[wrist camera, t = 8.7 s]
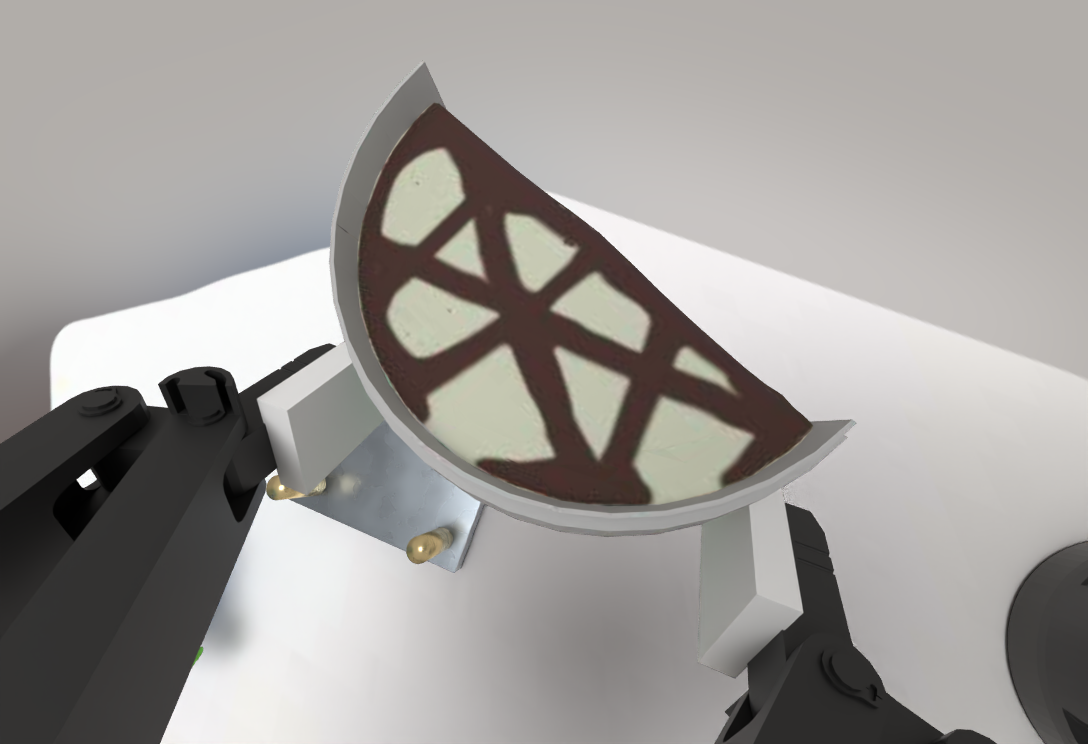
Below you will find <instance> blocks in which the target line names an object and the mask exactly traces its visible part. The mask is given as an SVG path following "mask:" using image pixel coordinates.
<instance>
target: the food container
mask: <svg viewBox="0 0 1088 744" xmlns="http://www.w3.org/2000/svg"><path fill="white" fill-rule="evenodd" d="M330 243H331V244H330V258H329V264H330V273H331V283H332V292H333V302H334V305H335V309H336V312H337V316H338V319H339V323H340V326H341V330H342V334H343V337H344V341H345V343H346V346H347V350H348V353H349V357H350V359H351V361H352V363H353V365H354V367H355V369H356V371H357V374H358V376H359V378H360V380H361V382H362V384H363V386H364V388H365V391H366V393H367V395H368V396H369V397H370V399H371V400H372V402H373V403H374V405H375V406H376V407H377V409H378V410H379V412H380V413H381V414H382V416H383V417H384V419H385V420H386V422H387V423H388V424H389V426H390V427H391V429H392V430H393V431H394V432H395V433H396V434H397V435H398V436H399V437H400V438H401V439H402V440H403V441H404V442H405V443H406V444H407V445H408V446H409V447H410V448H411V449H412V450H413V451H414V452H415V453H416V454H417V455H418V456H419V457H420V458H421V459H422V460H423V461H424V462H425V463H426V464H427V465H429V466H430V467H431V468H432V469H434V470H435V471H436V472H437V473H438V474H440V475H441V476H442V477H444V478H445V479H447V480H448V481H450V482H451V483H452V484H454V485H455V486H457V487H458V488H460V489H461V490H462V491H464V492H465V493H467V494H468V495H470V496H471V497H472V498H474V499H475V500H477V501H479V502H481V503H484V504H486V505H488V506H490V507H492V508H494V509H496V510H498V511H500V512H503V513H505V514H507V515H509V516H511V517H513V518H515V519H518V520H522V521H525V522H529V523H532V524H536V525H539V526H543V527H546V528H550V529H553V530H557V531H560V532H569V533H578V534H587V535H595V536H604V537H614V536H634V535H653V534H659V533H664V532H668V531H673V530H677V529H682V528H686V527H691V526H696V525H700V524H704V523H706V522H709V521H711V520H714V519H716V518H719V517H721V516H724V515H726V514H728V513H731V512H733V511H736V510H738V509H741V508H743V507H746V506H748V505H750V504H753V503H755V502H757V501H759V500H761V499H764V498H766V497H767V496H769V495H771V494H772V493H774V492H775V491H777V490H779V489H780V488H782V487H784V486H785V485H787V484H789V483H790V482H792V481H794V480H795V479H797V478H798V477H800V476H802V475H803V474H805V473H807V472H808V471H810V470H811V469H812V468H813V467H815V466H816V465H817V464H818V463H819V462H820V461H821V460H823V459H824V458H825V457H826V456H827V455H828V454H829V453H831V452H832V451H833V450H834V449H835V448H836V447H838V446H839V445H840V444H841V443H842V442H843V441H844V440H846V439H847V437H846V436H845V435H844V434H845V433H846V432H847V431H848V430H849V429H851V428H852V427H853V426H854V425H855V424H856V422H855V421H853V420H835V421H816V422H809V421H808V420H807V419H806V418H805V417H804V416H803V415H802V414H801V413H800V412H798V411H797V410H796V409H795V408H794V407H793V406H792V405H791V404H790V403H789V402H788V401H787V400H786V399H785V398H784V396H783V395H782V394H780V393H778V392H777V391H775V390H774V389H772V388H771V387H769V386H767V385H766V384H764V383H763V382H762V381H761V380H759V379H758V378H757V377H756V376H754V375H753V374H752V373H751V372H749V371H748V370H747V369H746V368H744V367H743V366H742V365H741V364H740V363H739V362H738V361H736V360H735V359H734V358H733V357H732V356H731V355H730V354H728V353H727V352H726V351H725V350H724V349H723V348H722V347H721V346H719V345H718V344H717V343H716V342H715V341H714V340H713V339H711V338H710V337H709V336H708V335H707V334H706V333H705V332H704V331H702V330H701V329H700V328H699V327H698V326H697V325H696V324H695V323H694V322H693V321H691V320H690V319H689V318H688V317H687V316H686V315H685V314H684V313H683V312H682V311H681V310H680V309H678V308H677V307H676V306H675V305H674V304H673V303H672V302H671V301H670V300H669V299H668V298H667V297H665V296H664V295H663V294H662V293H661V292H660V291H659V290H658V289H657V288H656V287H655V286H654V285H653V284H652V283H651V282H650V281H649V280H648V279H647V278H646V277H645V276H644V275H643V274H642V273H641V272H640V271H639V270H638V269H637V268H636V267H635V266H634V265H633V264H632V263H631V262H630V261H628V260H627V259H626V258H625V257H624V256H623V255H622V254H621V253H620V252H619V251H618V250H617V249H616V248H615V247H614V246H613V245H612V244H610V243H609V242H608V241H607V240H606V239H605V238H604V237H603V236H602V235H601V234H600V233H599V232H598V231H596V230H595V229H594V228H592V227H591V226H590V225H588V224H587V223H586V222H584V221H583V220H582V219H581V218H579V217H578V216H577V215H575V214H574V213H573V212H571V211H570V210H569V209H567V208H566V207H565V206H563V205H562V204H560V203H559V202H558V201H556V200H555V199H553V198H552V197H551V196H549V195H548V194H547V193H545V192H544V191H543V190H542V189H540V188H539V187H538V186H536V185H535V184H534V183H533V182H531V181H530V180H529V179H528V178H526V177H525V176H524V175H522V174H521V173H520V172H519V171H517V170H516V169H515V168H514V167H513V166H511V165H510V164H509V163H508V162H507V161H505V160H504V159H503V158H502V157H501V156H500V155H498V154H497V153H496V152H495V151H494V150H493V149H492V148H490V147H489V146H488V145H487V144H486V143H485V142H483V141H482V140H481V139H480V138H479V137H477V136H476V135H475V134H474V133H473V132H472V131H470V130H469V129H468V128H467V127H466V126H465V125H464V124H462V123H461V122H460V121H459V120H458V119H456V118H455V117H454V116H453V115H452V114H451V113H450V112H448V111H447V110H446V107H445V105H444V103H443V101H442V99H441V97H440V94H439V92H438V90H437V88H436V86H435V83H434V81H433V79H432V77H431V75H430V72H429V70H428V68H427V66H426V64H425V62H424V61H421V62H420V63H419V64H418V65H417V66H416V67H415V68H414V69H413V70H412V71H411V72H410V73H409V74H408V75H407V76H406V77H405V78H404V79H403V80H402V81H401V82H400V83H399V84H398V85H397V86H396V87H395V88H394V90H393V91H392V92H391V94H390V95H389V96H388V97H387V99H386V100H385V101H384V103H383V104H382V105H381V106H380V108H379V109H378V110H377V111H376V113H375V114H374V116H373V117H372V119H371V121H370V122H369V124H368V126H367V128H366V129H365V131H364V133H363V135H362V136H361V138H360V140H359V141H358V143H357V145H356V147H355V149H354V151H353V153H352V156H351V158H350V161H349V164H348V166H347V169H346V171H345V174H344V176H343V179H342V182H341V184H340V188H339V192H338V197H337V201H336V205H335V210H334V215H333V219H332V225H331V242H330Z"/></svg>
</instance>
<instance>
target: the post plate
mask: <svg viewBox="0 0 1088 744" xmlns="http://www.w3.org/2000/svg"><path fill="white" fill-rule="evenodd" d="M266 492H267V495H268V496H269V498H271V499H273V500H282V499H289V500H291V501H294V502H296V503H298V504H300V505H303V506H305V507H307V508H309V509H312V510H314V511H316V512H318V513H321V514H323V515H325V516H327V517H330V518H332V519H334V520H336V521H339V522H341V523H343V524H345V525H348V526H350V527H352V528H354V529H357V530H359V531H361V532H363V533H366V534H368V535H370V536H372V537H375V538H377V539H379V540H381V541H384V542H386V543H388V544H390V545H393V546H395V547H397V548H399V549H402V550H404V551H406V553H407V556H408V558H409V560H410V561H411V562H413V563H416V564H421V563H424V562H425V561H429V562H431V563H433V564H435V565H438V566H440V567H442V568H444V569H447V570H449V571H451V572H453V573H455V572H456V571H457V570H459V569H460V568H461V566H462V564H463V561H464V558H465V555H466V553H467V550H468V547H469V545H470V542H471V539H472V537H473V534H474V531H475V529H476V526H477V523H478V521H479V518H480V515H481V512H482V510H483V507H484V503H481V502H479V501H477V500H475V499H474V498H472V497H471V496H470V495H468V494H467V493H465V492H464V491H462V490H461V489H460V488H458V487H457V486H455V485H454V484H452V483H451V482H450V481H448V480H447V479H445V478H444V477H442V476H441V475H440V474H438V473H437V472H436V471H435V470H434V469H432V468H431V467H430V466H429V465H427V464H426V463H425V462H424V461H423V460H422V459H421V458H420V457H419V456H418V455H417V454H416V453H415V452H414V451H413V450H412V449H411V448H410V447H409V446H408V445H407V444H406V443H405V442H404V441H403V440H402V439H401V438H400V437H399V436H398V435H397V434H396V433H395V432H394V431H393V430H392V429H391V427H390V426H389V424H388V423H387V422H386V420H384V421H383V422H382V423H381V424H380V425H379V426H378V427H377V428H375V429H374V430H373V431H372V432H371V433H370V434H369V435H368V436H367V437H366V438H365V439H364V440H363V441H362V442H361V443H360V444H359V445H358V446H357V447H356V448H355V449H354V450H353V451H352V452H351V453H350V454H349V455H348V456H347V457H346V458H345V459H344V460H343V461H342V462H341V463H340V464H339V465H338V466H337V467H336V468H335V469H334V470H333V471H332V472H331V473H329V474H328V475H327V476H326V477H325V478H324V479H323V480H322V481H321V482H320V483H319V484H318V485H317V486H316V487H315V488H314V489H313V490H312V491H311V492H310V493H309V494H308V495H305V494H302V493H300V492H298V491H295V490H293V489H290V488H288V487H286V486H283V485H281V483H280V479H279V476H278V475H276V476H274V477H272V478H271V479H270V480H269V481H268V483H267V487H266Z"/></svg>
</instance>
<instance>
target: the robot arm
mask: <svg viewBox="0 0 1088 744" xmlns="http://www.w3.org/2000/svg"><path fill="white" fill-rule="evenodd" d="M158 386H159V388H160V390H161V392H162V395H163V397H164V399H165V401H166V404H167V406H168V408H164V407H154V406H147V405H146V403H145V401H144V399H143V397H142V395H141V394H140V393H139V391H138V390H137V389H134V388H131V387H128V386H108V387H101V388H96V389H93V390H90V391H87V392H83V393H81V394H79V395H77V396H75V397H73V398H71V399H69V400H68V401H66V402H65V403H63V404H62V405H60V406H58V407H57V408H55V409H54V410H52V411H51V412H49V413H48V414H46V415H44V416H43V417H41V418H40V419H38V420H37V421H35V422H34V423H32V424H30V425H29V426H27V427H26V428H24V429H23V430H21V431H20V432H18V433H17V434H15V435H13V436H12V437H10V438H9V439H7V440H6V441H4V442H2V443H1V444H0V744H160V742H161V740H162V737H163V735H164V732H165V730H166V728H167V725H168V723H169V721H170V718H171V716H172V713H173V711H174V709H175V706H176V704H177V701H178V699H179V697H180V694H181V692H182V690H183V687H184V685H185V682H186V680H187V678H188V675H189V673H190V670H191V668H192V666H193V663H194V661H195V659H196V656H197V654H198V651H199V649H200V647H201V644H202V642H203V639H204V637H205V635H206V632H207V630H208V627H209V625H210V623H211V620H212V618H213V616H214V613H215V611H216V608H217V606H218V604H219V601H220V599H221V596H222V594H223V592H224V589H225V587H226V585H227V582H228V580H229V577H230V575H231V573H232V570H233V568H234V565H235V563H236V561H237V558H238V556H239V554H240V551H241V549H242V546H243V544H244V542H245V539H246V537H247V534H248V532H249V530H250V527H251V525H252V523H253V520H254V518H255V515H256V513H257V511H258V508H259V506H260V503H261V501H262V499H263V496H264V494H265V491H266V481H265V478H266V477H267V476H268V475H269V474H270V473H271V472H273V471H274V470H275V469H277V472H278V476H279V479H280V483H281V485H283V486H286V487H288V488H290V489H293V490H295V491H298V492H300V493H302V494H305V495H308V494H309V493H310V492H311V491H312V490H313V489H314V488H315V487H316V486H317V485H318V484H319V483H320V482H321V481H322V480H323V479H324V478H325V477H326V476H327V475H328V474H329V473H331V472H332V471H333V470H334V469H335V468H336V467H337V466H338V465H339V464H340V463H341V462H342V461H343V460H344V459H345V458H346V457H347V456H348V455H349V454H350V453H351V452H352V451H353V450H354V449H355V448H356V447H357V446H358V445H359V444H360V443H361V442H362V441H363V440H364V439H365V438H366V437H367V436H368V435H369V434H370V433H371V432H372V431H373V430H374V429H375V428H377V427H378V426H379V425H380V424H381V423H382V422H383V421H384V420H385V419H384V417H383V416H382V414H381V413H380V412H379V410H378V409H377V407H376V406H375V405H374V403H373V402H372V400H371V399H370V397H369V396H368V395H367V393H366V391H365V388H364V386H363V384H362V382H361V380H360V378H359V376H358V374H357V371H356V369H355V367H354V365H353V363H352V361H351V359H350V357H349V353H348V350H347V346H346V343H345V341H344V342H342V343H341V344H339V345H338V346H335V345H332V344H325V345H322V346H319V347H316V348H313V349H310V350H308V351H306V352H305V353H303V354H302V355H300V356H298V357H297V358H295V359H294V361H293V362H292V361H290V362H289V363H287V364H286V365H284V366H282V367H281V369H280V370H279V369H278V370H276V371H274V372H273V373H271V374H270V375H268V376H266V377H265V378H263V379H261V380H260V381H258V382H257V383H255V384H253V385H252V386H250V387H249V388H247V389H245V390H244V391H242V392H241V393H239V394H238V391H237V388H236V384H235V381H234V378H233V377H232V375H231V373H230V372H228V371H226V370H224V369H222V368H217V367H210V366H209V367H195V368H190V369H186V370H182V371H179V372H177V373H175V374H172V375H170V376H168V377H166V378H165V379H164V380H163V381H161V382H160V383H159V384H158ZM89 469H91V470H92V472H93V473H94V475H95V477H96V478H97V480H96V481H95V482H93V483H92V484H90V485H88V486H87V487H85V488H82V487H81V486H80V484H79V483H78V481H77V480H76V479H78V478H79V477H80V476H81V475H83V474H84V473H85V472H86V471H88V470H89ZM829 554H830V553H829V549H828V545H827V541H826V537H825V533H824V532H823V530H822V528H821V527H820V525H819V524H818V522H817V521H816V519H815V518H814V516H813V515H812V513H811V512H810V511H807V510H804V509H802V508H799V507H796V506H793V505H790V504H787V503H785V502H784V497H783V491H782V488H780V489H779V490H777V491H775V492H774V493H772V494H771V495H769V496H767V497H766V498H764V499H761V500H759V501H757V502H755V503H753V504H750V505H748V506H746V507H743V508H741V509H738V510H736V511H733V512H731V513H728V514H726V515H724V516H721V517H719V518H716V519H714V520H711V521H709V522H706V523H704V524H702V535H701V568H700V601H699V633H698V663H700V664H703V665H705V666H707V667H710V668H712V669H714V670H717V671H719V672H721V673H724V674H726V675H728V676H731V677H733V678H736V677H737V676H738V675H739V674H740V673H741V672H742V671H743V670H744V669H745V668H746V667H747V666H748V684H749V690H748V691H747V692H746V693H745V694H744V695H743V696H741V697H740V698H739V699H738V700H737V701H736V702H735V703H733V704H732V705H731V706H730V707H729V708H728V709H727V710H726V711H725V713H726V714H727V715H728V716H729V719H728V721H727V723H726V724H725V726H724V728H723V730H722V731H721V733H720V735H719V737H718V738H717V740H716V742H715V744H996V743H995V742H994V741H992V740H991V739H990V738H988V737H985V736H983V735H981V734H979V733H977V732H975V731H972V730H961V729H956V730H954V731H952V732H950V733H948V734H946V735H944V734H943V733H941V732H940V731H938V730H937V729H935V728H934V727H933V726H931V725H930V724H928V723H927V722H926V721H924V720H923V719H921V718H920V717H919V716H917V715H916V714H914V713H913V712H911V711H910V710H909V709H907V708H906V707H904V706H903V705H902V704H900V703H899V702H898V701H896V700H895V699H894V698H893V697H891V696H890V695H889V694H888V693H886V691H885V688H884V686H883V683H882V680H881V678H880V677H879V675H878V674H877V672H876V671H875V669H874V668H873V666H872V665H871V663H870V662H869V661H868V660H867V659H866V658H865V657H864V656H863V655H862V654H861V653H860V652H859V651H858V650H857V649H856V648H855V647H854V646H853V644H852V641H851V637H850V633H849V629H848V625H847V621H846V617H845V613H844V609H843V605H842V601H841V597H840V593H839V589H838V585H837V581H836V577H835V575H833V571H834V569H833V565H832V561H831V558H830V557H829ZM1008 654H1009V663H1010V668H1011V673H1012V677H1013V681H1014V684H1015V687H1016V690H1017V693H1018V695H1019V698H1020V700H1021V703H1022V705H1023V707H1024V709H1025V711H1026V713H1027V715H1028V717H1029V719H1030V721H1031V722H1032V724H1033V726H1034V727H1035V729H1036V731H1037V732H1038V734H1039V735H1040V737H1041V738H1042V739H1043V741H1044V742H1045V743H1046V744H1088V542H1085V543H1081V544H1077V545H1074V546H1072V547H1069V548H1067V549H1065V550H1062V551H1060V552H1058V553H1057V554H1055V555H1053V556H1052V557H1050V558H1049V559H1047V560H1046V561H1045V562H1043V563H1042V564H1041V565H1040V566H1039V567H1038V568H1037V569H1036V570H1035V571H1034V572H1033V573H1032V574H1031V575H1030V577H1029V578H1028V579H1027V580H1026V582H1025V583H1024V585H1023V586H1022V588H1021V590H1020V592H1019V594H1018V596H1017V598H1016V600H1015V603H1014V606H1013V609H1012V612H1011V617H1010V621H1009V629H1008Z"/></svg>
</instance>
